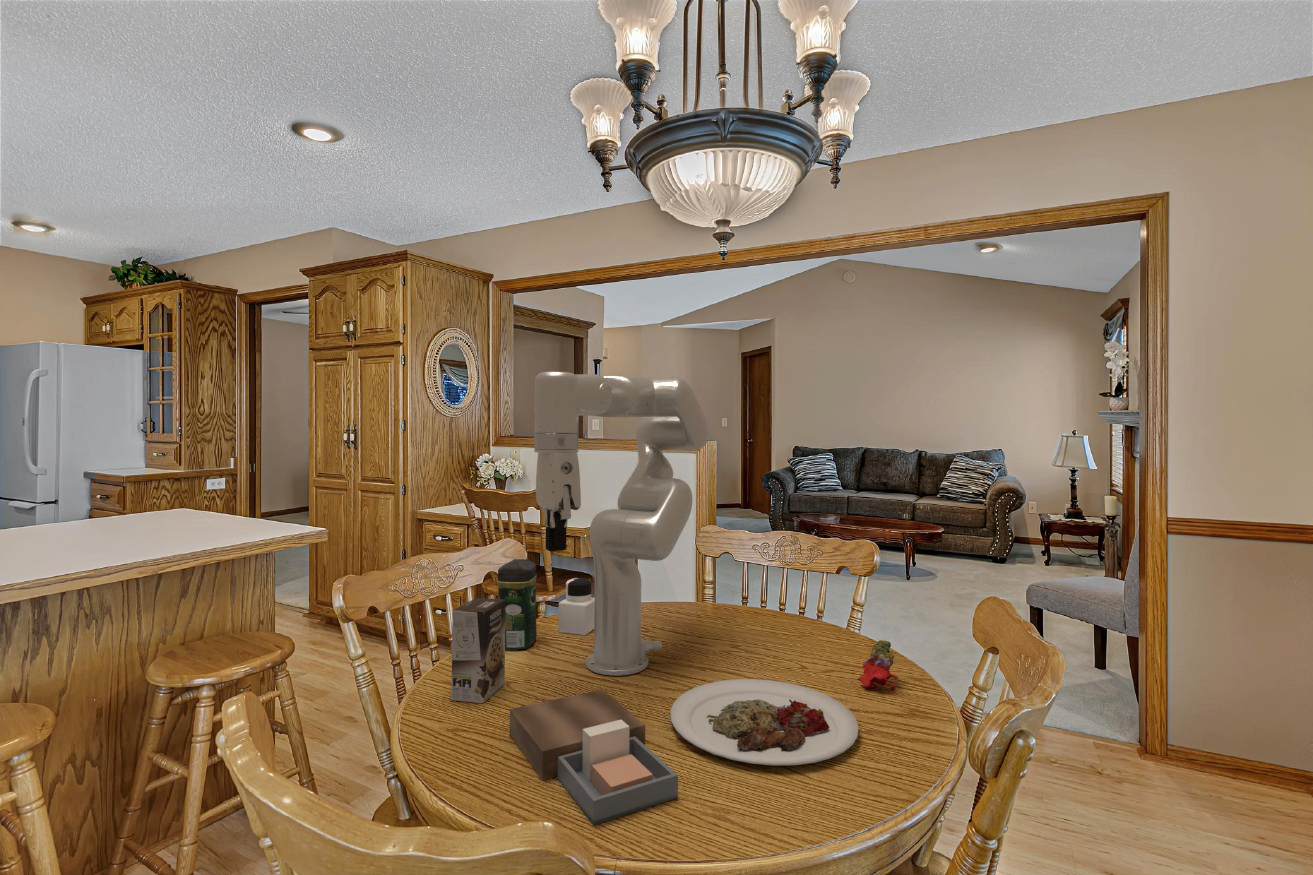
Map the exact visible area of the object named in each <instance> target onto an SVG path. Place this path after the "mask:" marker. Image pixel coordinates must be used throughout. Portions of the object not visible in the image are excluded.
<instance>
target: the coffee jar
mask: <svg viewBox="0 0 1313 875" xmlns="http://www.w3.org/2000/svg"><path fill="white" fill-rule="evenodd" d="M497 590H498V591H497V593H498V594H497V595H498V597H497V599H504V600H505V650H507V651H518V650H521V649H522V650H523V649H524V650H525V649H528V648H530V647H531V646H532V645H533V644H534V643H535V641H536V639H537V634H538V633H537V632H538V630H537V566H536V563H534V561H532V560H531V559H525V558H524V559H523V558H522V559H520V558H519V559H518V558H514V559H512V560H510V561H509V562H506V563H504V564H503V565H501V566H500V567H499V568H498V569H497Z"/></svg>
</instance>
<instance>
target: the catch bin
mask: <svg viewBox="0 0 1313 875" xmlns="http://www.w3.org/2000/svg"><path fill="white" fill-rule="evenodd" d="M582 752H583V750H581V751H577V752H574V753H570V754H566V755H562V756H558V776H557V779H558V781H559V782H560V784H561V785H562V786H563V787H564V789H565V790H566V792H567V793H568V794H569V795H570V796H571V798H572V799H573V801H574V803H576V805H577V806H578V807H579V808H580V810H581V811H582V812H583V814H584V815H585V816H586V818H587V819H588V820H589V821H590V823H591V824H592V826H596V825H600V824H603V823H606V822H609V821H612V820H615V819H618V818H620V817H624V816H626V815H630V814H633V813H636V812H639V811H642V810H645V809H648V808H651V807H654V806H657V805H660V804H663V803H667V802H670V801H672V800H676V799H678V798H679V797H678V796H679V775H678V774H677V773H676V772H675V771H674V770H673V769H672V768H671V767H669V766H668V764H666V763H665V762H664V761H663V760H662V759H661V758H660V757H659V756H658V755H657V754H655V753H654V752H653V751H652V750H650V748H648V746H646V744H645V745H644V744H643V743H642V742H641V741H639V740H638V739H637V738H636V737H631V738H629V755H630V754H632V755H633V756H634V757H635V758H636V759H637V760H638V761H639V762H640V763H641V764H642V765H643V766H644V767H645V768H646V769H647V770H649V771H650V772H651V773H652V774H653V780H651V781H647V782H644V783H641V784H638V785H634V786H631V787H628V788H625V789H621V790H618V791H615V792H611V793H608V794H605V795H601V794H600V793H599V792H598V791H597V789H596V788H595V787H594V786H593V785H592V780H589V779H588V778H587V777H586V776H585V774H584V773H583V772H582Z"/></svg>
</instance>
